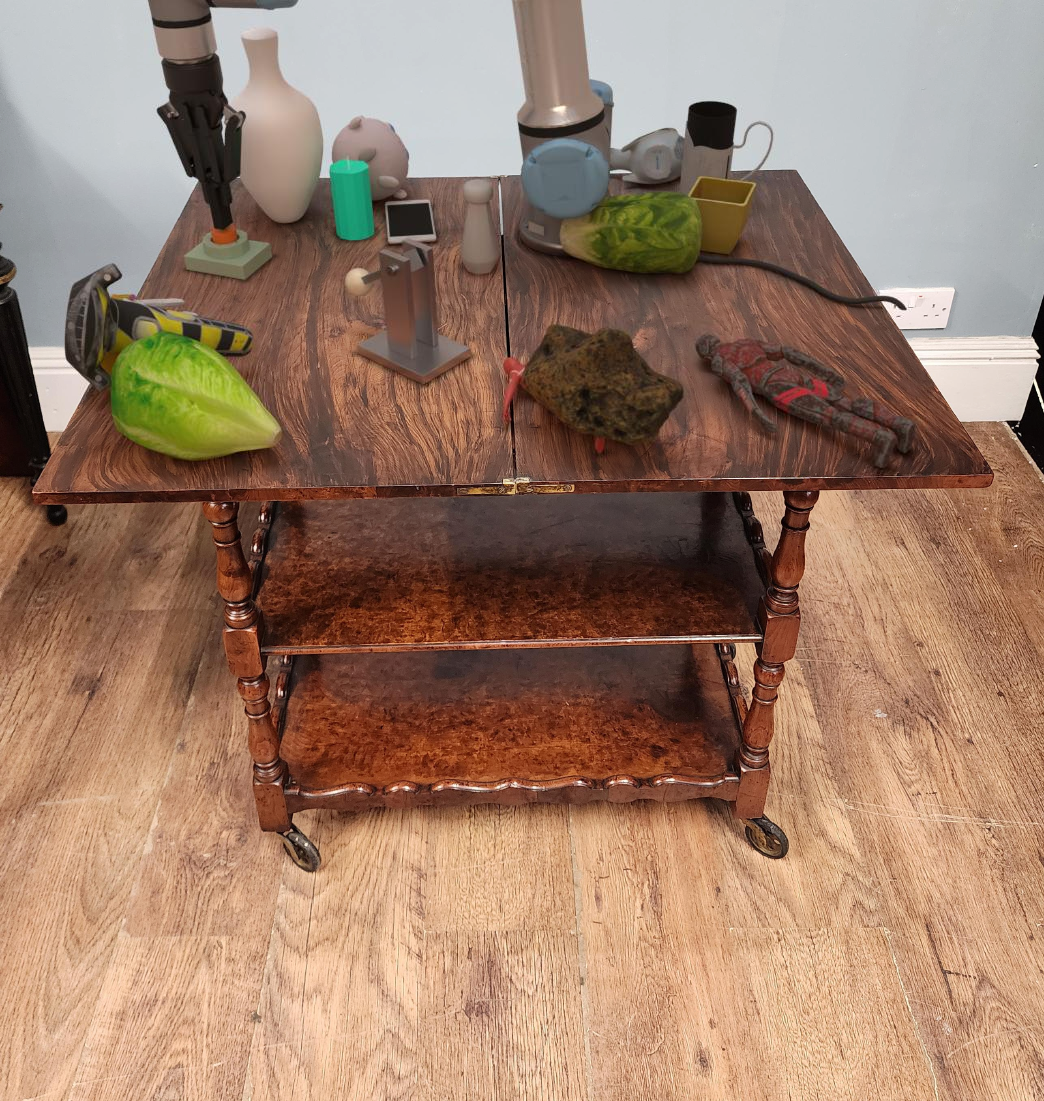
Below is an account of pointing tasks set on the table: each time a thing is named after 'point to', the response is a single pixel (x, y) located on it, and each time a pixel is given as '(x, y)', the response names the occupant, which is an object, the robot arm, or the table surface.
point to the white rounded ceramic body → (651, 157)
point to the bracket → (411, 320)
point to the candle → (352, 199)
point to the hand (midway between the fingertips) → (223, 225)
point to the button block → (228, 256)
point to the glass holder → (711, 143)
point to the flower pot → (722, 211)
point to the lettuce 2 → (637, 233)
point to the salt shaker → (479, 228)
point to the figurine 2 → (802, 392)
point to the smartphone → (410, 221)
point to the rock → (600, 384)
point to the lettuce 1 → (186, 400)
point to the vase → (277, 134)
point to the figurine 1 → (515, 377)
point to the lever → (375, 275)
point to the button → (224, 235)
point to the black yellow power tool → (132, 326)
